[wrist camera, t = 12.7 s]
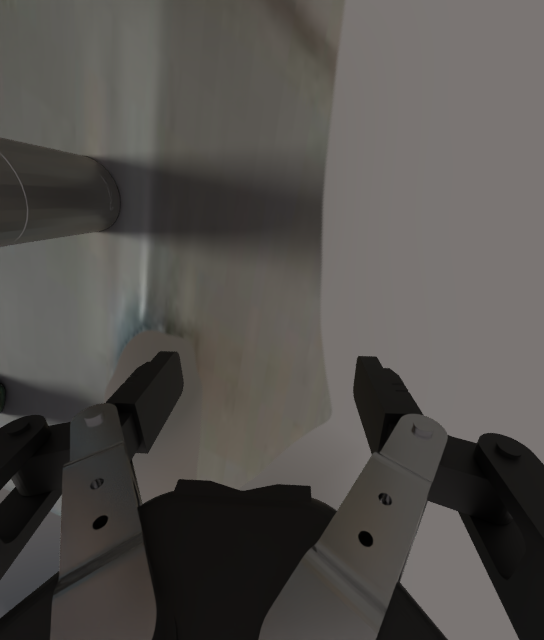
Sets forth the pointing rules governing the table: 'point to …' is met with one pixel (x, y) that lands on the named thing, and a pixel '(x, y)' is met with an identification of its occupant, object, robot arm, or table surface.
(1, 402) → the coffee jar
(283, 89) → the table surface
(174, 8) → the table surface
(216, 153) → the table surface
